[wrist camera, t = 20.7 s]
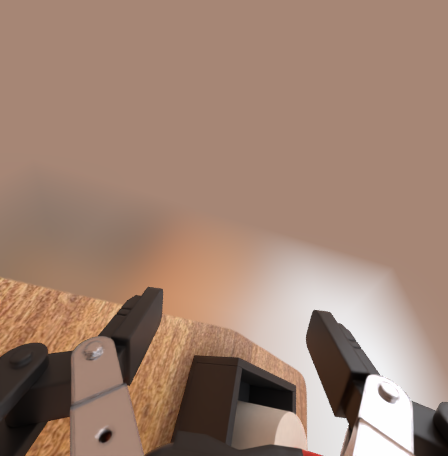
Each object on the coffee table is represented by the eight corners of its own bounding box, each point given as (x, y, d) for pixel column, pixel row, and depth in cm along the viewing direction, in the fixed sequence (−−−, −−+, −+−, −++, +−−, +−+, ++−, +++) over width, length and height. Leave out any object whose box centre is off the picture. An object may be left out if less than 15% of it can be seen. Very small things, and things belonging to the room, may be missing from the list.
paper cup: (207, 392, 27) (344, 421, 17) (237, 401, 29) (372, 431, 19) (193, 458, 23) (358, 548, 13) (230, 462, 26) (390, 539, 16)
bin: (194, 355, 28) (238, 357, 23) (250, 379, 33) (296, 385, 28) (157, 490, 21) (211, 535, 16) (236, 494, 26) (295, 529, 21)
